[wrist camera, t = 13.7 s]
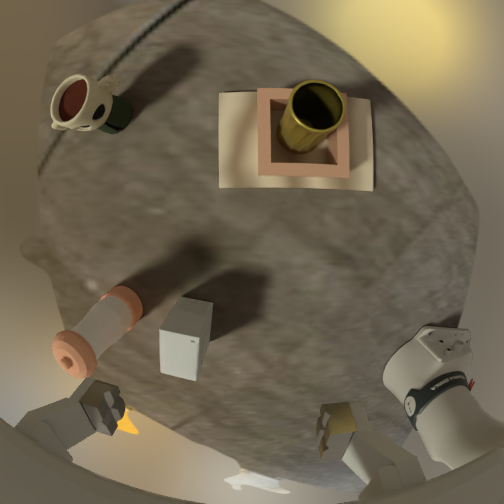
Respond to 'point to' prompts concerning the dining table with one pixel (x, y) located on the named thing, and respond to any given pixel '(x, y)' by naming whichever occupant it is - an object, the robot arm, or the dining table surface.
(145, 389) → the dining table surface
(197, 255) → the dining table surface
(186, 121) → the dining table surface
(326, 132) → the vase
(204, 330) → the small box
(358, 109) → the board
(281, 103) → the pink open box
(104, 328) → the pepper shaker
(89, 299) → the dining table surface
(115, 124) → the character mug
